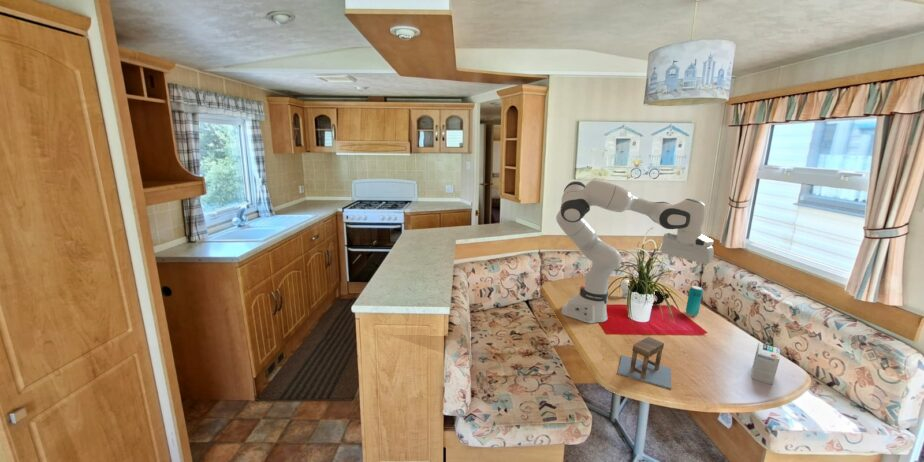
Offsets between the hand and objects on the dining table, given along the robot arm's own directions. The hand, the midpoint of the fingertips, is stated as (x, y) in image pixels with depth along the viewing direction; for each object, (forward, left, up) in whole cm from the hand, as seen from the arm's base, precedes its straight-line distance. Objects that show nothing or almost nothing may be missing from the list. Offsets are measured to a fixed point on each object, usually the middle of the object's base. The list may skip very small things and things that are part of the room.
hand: (683, 268), depth 162 cm
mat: (-9, -34, -34) cm, 49 cm away
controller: (-7, +39, -34) cm, 52 cm away
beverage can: (+10, +35, -34) cm, 50 cm away
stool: (-7, -29, -28) cm, 41 cm away
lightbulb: (-23, +39, -34) cm, 57 cm away
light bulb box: (+32, -12, -34) cm, 48 cm away
